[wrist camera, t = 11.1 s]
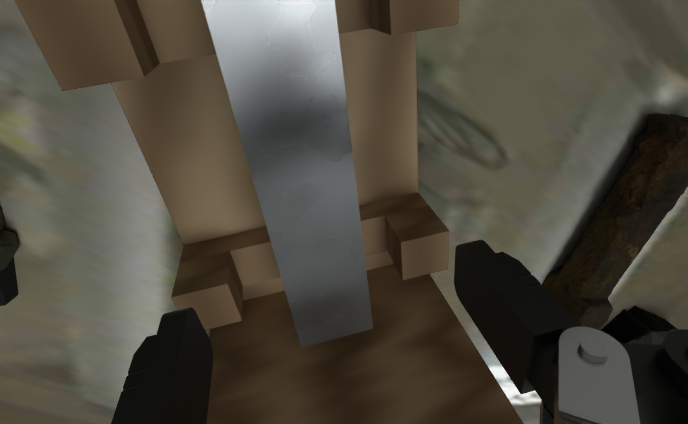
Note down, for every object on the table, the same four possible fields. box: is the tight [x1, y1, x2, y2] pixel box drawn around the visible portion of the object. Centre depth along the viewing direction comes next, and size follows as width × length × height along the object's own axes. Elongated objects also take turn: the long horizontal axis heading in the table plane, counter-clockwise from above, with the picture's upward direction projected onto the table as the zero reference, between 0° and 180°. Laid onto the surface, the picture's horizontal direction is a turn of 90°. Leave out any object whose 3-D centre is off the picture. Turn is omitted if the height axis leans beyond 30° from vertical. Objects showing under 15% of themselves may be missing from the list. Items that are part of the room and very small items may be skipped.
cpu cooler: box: [602, 306, 679, 345], centre depth 43 cm, size 10×6×10 cm
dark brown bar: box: [542, 114, 688, 330], centre depth 31 cm, size 23×5×6 cm, turn 164°
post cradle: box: [15, 0, 524, 424], centre depth 17 cm, size 16×24×16 cm
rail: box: [201, 0, 373, 348], centre depth 18 cm, size 4×17×6 cm, turn 7°
